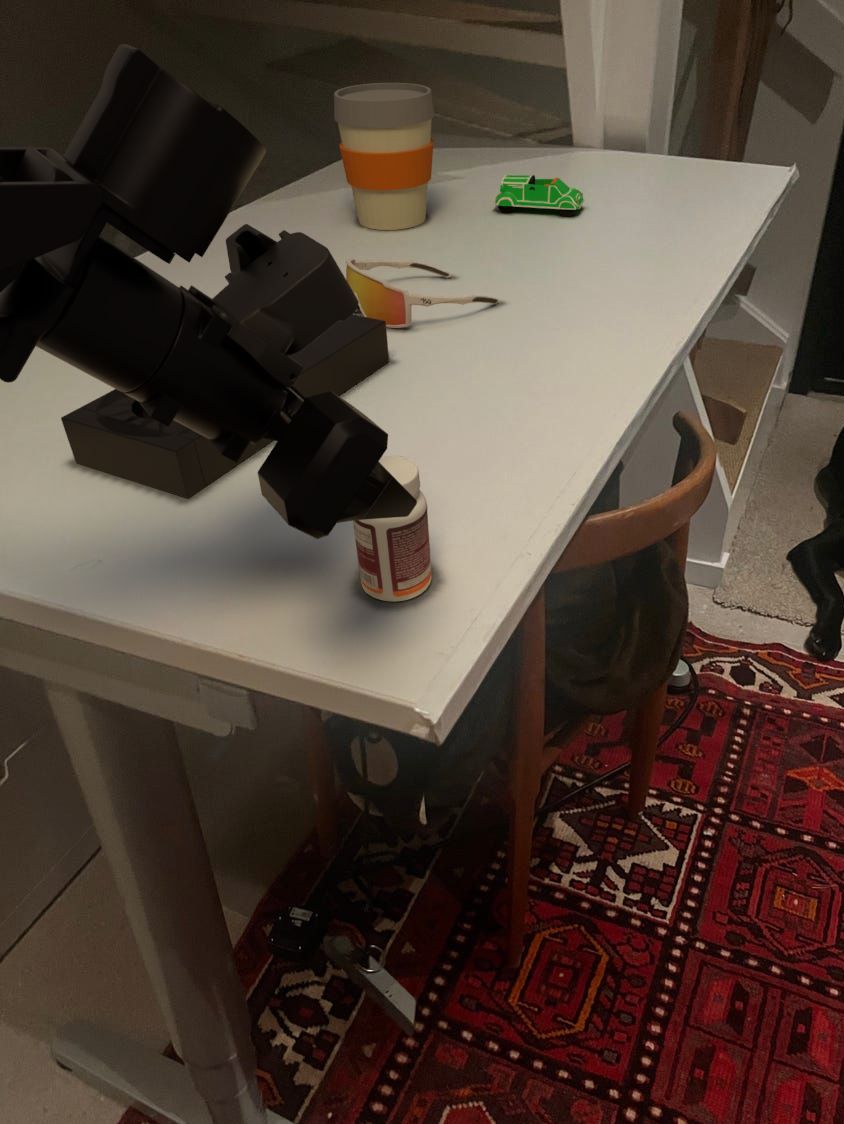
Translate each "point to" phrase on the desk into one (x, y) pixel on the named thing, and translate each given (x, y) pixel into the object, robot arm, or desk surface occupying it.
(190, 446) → the base
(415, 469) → the pill bottle
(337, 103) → the reusable coffee cup
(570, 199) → the toy car
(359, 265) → the sunglasses
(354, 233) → the desk surface
